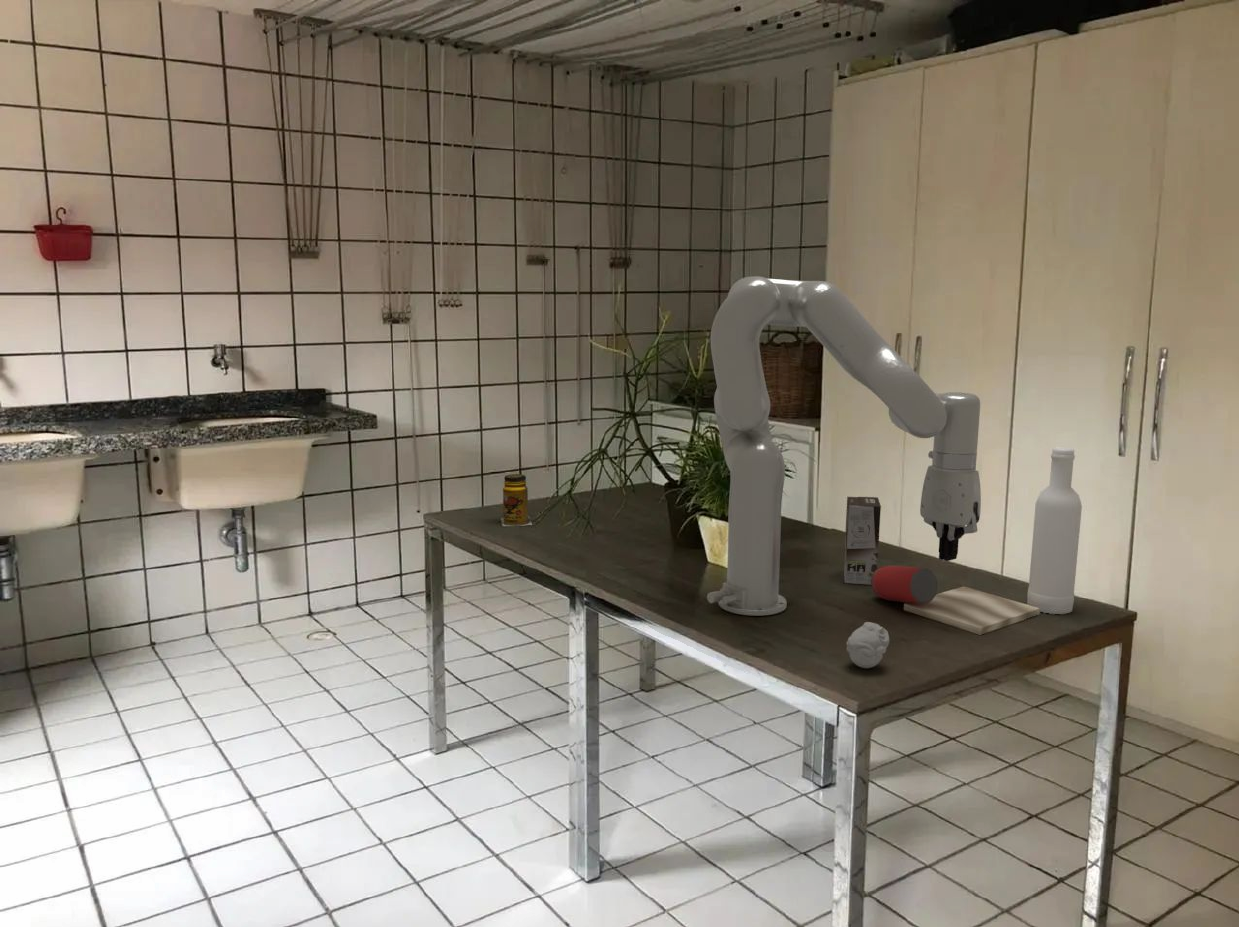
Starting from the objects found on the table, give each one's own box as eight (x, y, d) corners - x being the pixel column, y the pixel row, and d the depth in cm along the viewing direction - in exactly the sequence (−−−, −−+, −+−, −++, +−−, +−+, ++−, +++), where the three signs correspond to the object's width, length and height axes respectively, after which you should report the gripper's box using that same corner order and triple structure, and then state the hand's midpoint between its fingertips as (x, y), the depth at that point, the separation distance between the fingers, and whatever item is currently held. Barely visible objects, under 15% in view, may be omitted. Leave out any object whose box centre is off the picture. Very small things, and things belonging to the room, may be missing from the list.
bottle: (1028, 598, 190) (1041, 443, 185) (1073, 604, 187) (1088, 446, 181) (1025, 611, 183) (1038, 450, 178) (1072, 617, 180) (1087, 453, 174)
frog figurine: (896, 669, 156) (899, 626, 155) (863, 677, 152) (865, 634, 151) (869, 656, 161) (871, 614, 160) (835, 664, 158) (837, 622, 156)
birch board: (980, 634, 171) (980, 628, 171) (903, 609, 184) (904, 603, 183) (1039, 614, 181) (1039, 608, 181) (963, 592, 194) (963, 586, 194)
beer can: (922, 611, 179) (879, 606, 190) (945, 589, 182) (900, 585, 193) (905, 582, 178) (862, 578, 189) (928, 560, 181) (884, 558, 191)
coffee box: (877, 585, 198) (881, 506, 195) (844, 583, 199) (847, 504, 196) (875, 572, 207) (879, 496, 204) (843, 570, 208) (846, 495, 205)
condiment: (502, 527, 243) (501, 478, 241) (500, 518, 252) (499, 472, 249) (532, 525, 245) (531, 477, 242) (529, 517, 253) (528, 471, 251)
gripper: (907, 457, 184) (901, 553, 188) (977, 469, 173) (970, 572, 176) (932, 453, 189) (926, 547, 192) (1003, 465, 177) (995, 565, 180)
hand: (947, 558), depth 184 cm, fingers closed
